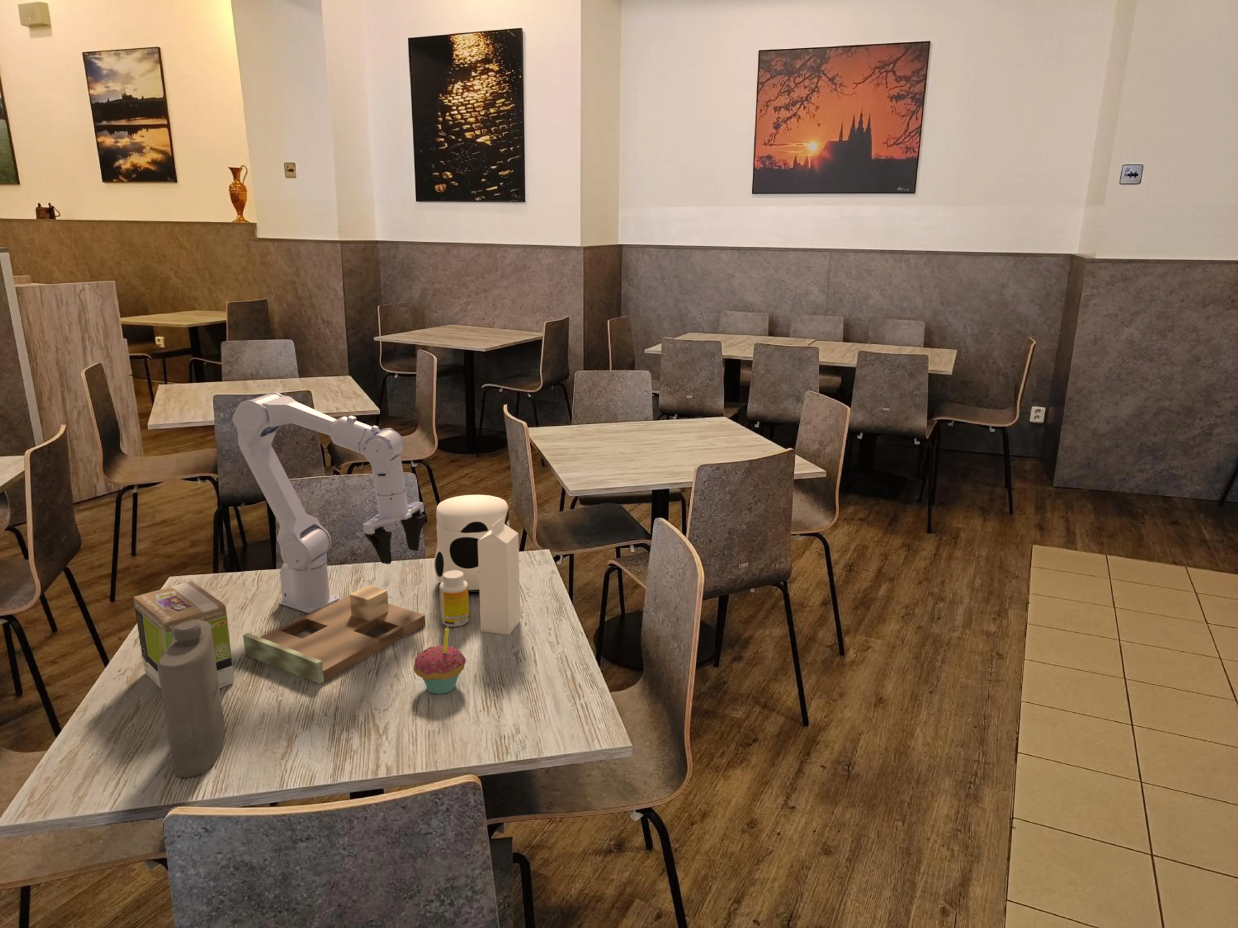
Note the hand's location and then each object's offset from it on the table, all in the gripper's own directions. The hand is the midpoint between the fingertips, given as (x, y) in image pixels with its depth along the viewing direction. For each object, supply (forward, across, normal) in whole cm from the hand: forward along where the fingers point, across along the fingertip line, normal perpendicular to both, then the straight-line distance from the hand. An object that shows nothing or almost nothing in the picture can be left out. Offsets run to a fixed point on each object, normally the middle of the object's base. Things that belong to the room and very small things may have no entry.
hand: (400, 556), depth 163 cm
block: (+10, -8, +2) cm, 12 cm away
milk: (+14, +4, -20) cm, 25 cm away
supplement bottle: (+13, +1, -11) cm, 17 cm away
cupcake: (+14, -19, -25) cm, 34 cm away
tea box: (+10, -39, +13) cm, 42 cm away
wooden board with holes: (+11, -15, +2) cm, 19 cm away
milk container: (+13, +18, -2) cm, 22 cm away
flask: (+11, -50, -7) cm, 51 cm away
